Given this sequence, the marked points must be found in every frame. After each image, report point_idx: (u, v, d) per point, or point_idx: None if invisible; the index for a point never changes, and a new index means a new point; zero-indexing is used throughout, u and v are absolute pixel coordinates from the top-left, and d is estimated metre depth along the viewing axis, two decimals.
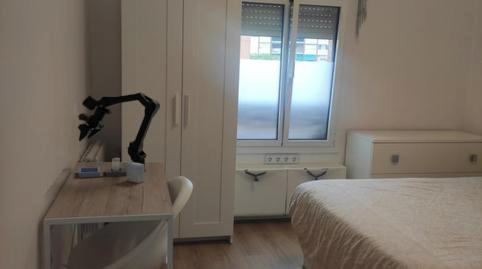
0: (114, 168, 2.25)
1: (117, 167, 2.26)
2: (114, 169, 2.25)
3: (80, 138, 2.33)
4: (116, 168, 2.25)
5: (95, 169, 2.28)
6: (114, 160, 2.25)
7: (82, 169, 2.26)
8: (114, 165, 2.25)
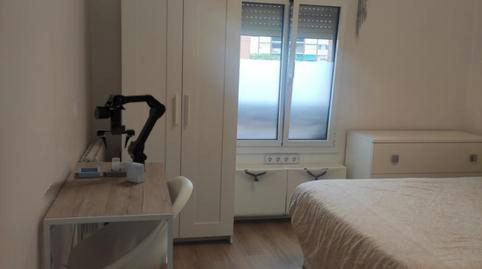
0: (115, 168, 2.25)
1: (117, 167, 2.26)
2: (114, 169, 2.25)
3: None
4: (116, 168, 2.25)
5: (95, 169, 2.28)
6: (114, 160, 2.25)
7: (82, 169, 2.26)
8: (114, 165, 2.25)
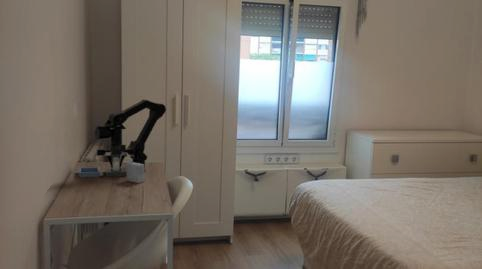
0: (114, 168, 2.25)
1: (117, 167, 2.26)
2: (114, 169, 2.25)
3: None
4: (115, 168, 2.25)
5: (95, 169, 2.28)
6: (114, 160, 2.25)
7: (82, 169, 2.26)
8: (114, 165, 2.25)
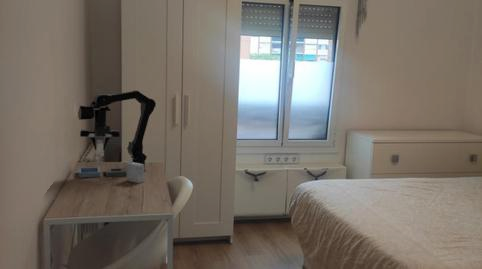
0: (98, 150, 2.21)
1: (101, 149, 2.21)
2: (98, 151, 2.21)
3: None
4: (99, 150, 2.21)
5: (95, 169, 2.28)
6: (98, 142, 2.20)
7: (82, 169, 2.26)
8: (98, 147, 2.21)
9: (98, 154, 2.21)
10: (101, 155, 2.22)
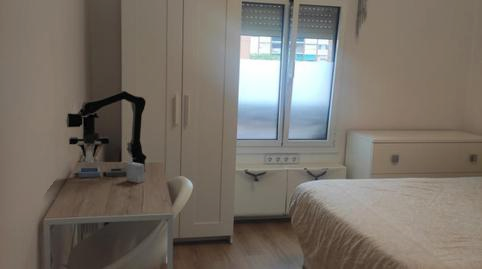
0: (88, 157, 2.20)
1: (90, 156, 2.20)
2: (87, 158, 2.20)
3: (94, 154, 2.22)
4: (89, 157, 2.20)
5: (95, 169, 2.28)
6: (87, 149, 2.19)
7: (82, 169, 2.26)
8: (87, 154, 2.20)
9: (88, 161, 2.20)
10: (91, 162, 2.21)
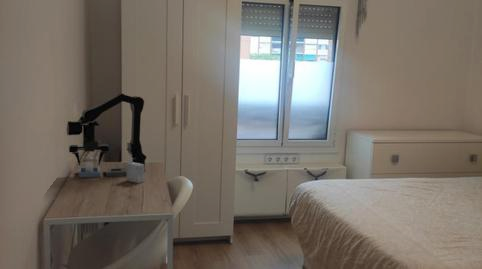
0: (88, 168, 2.21)
1: (90, 167, 2.21)
2: (87, 169, 2.21)
3: None
4: (89, 168, 2.21)
5: (95, 169, 2.28)
6: (87, 160, 2.20)
7: (82, 169, 2.26)
8: (87, 165, 2.21)
9: None
10: None
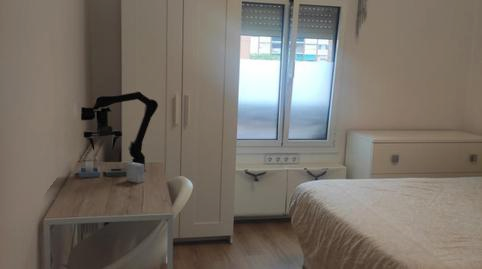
0: (88, 168, 2.21)
1: (90, 167, 2.21)
2: (87, 169, 2.21)
3: (113, 146, 2.30)
4: (89, 168, 2.21)
5: (95, 169, 2.28)
6: (87, 160, 2.20)
7: (82, 169, 2.26)
8: (87, 165, 2.21)
9: None
10: None
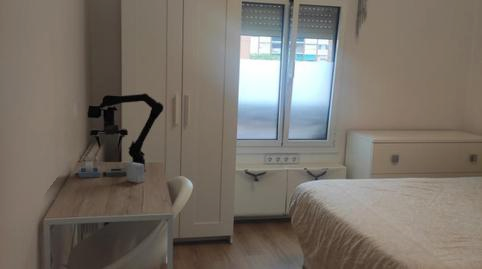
0: (88, 168, 2.21)
1: (90, 167, 2.21)
2: (87, 169, 2.21)
3: None
4: (89, 168, 2.21)
5: (95, 169, 2.28)
6: (87, 160, 2.20)
7: (82, 169, 2.26)
8: (87, 165, 2.21)
9: None
10: None
